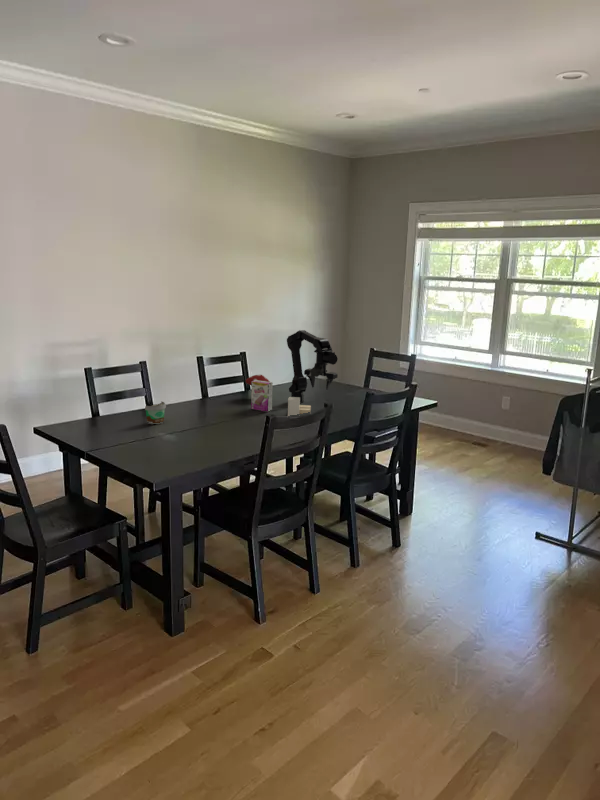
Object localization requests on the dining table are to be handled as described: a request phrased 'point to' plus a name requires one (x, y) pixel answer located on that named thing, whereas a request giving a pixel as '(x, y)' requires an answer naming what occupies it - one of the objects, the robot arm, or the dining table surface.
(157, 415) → the food container
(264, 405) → the candy bar box
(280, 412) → the dining table surface
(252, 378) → the decorative mushroom
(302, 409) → the oak block
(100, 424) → the dining table surface
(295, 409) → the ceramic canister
